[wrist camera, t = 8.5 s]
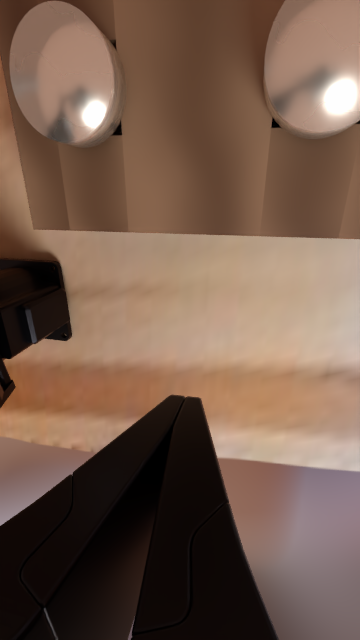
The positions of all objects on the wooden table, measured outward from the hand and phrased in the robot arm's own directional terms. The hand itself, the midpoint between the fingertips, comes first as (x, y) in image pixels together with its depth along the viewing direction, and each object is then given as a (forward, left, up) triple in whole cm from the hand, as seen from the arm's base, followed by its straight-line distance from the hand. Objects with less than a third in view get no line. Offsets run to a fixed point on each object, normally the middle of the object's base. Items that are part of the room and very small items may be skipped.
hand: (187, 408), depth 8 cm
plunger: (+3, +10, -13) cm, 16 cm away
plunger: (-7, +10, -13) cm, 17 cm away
